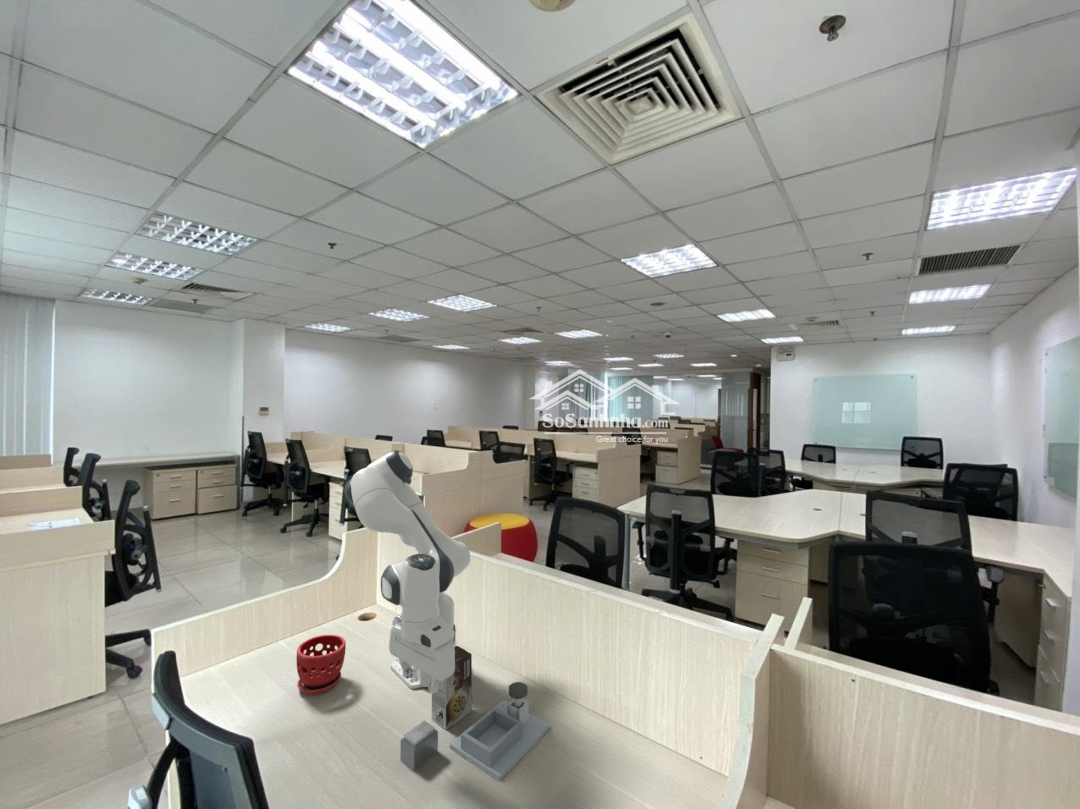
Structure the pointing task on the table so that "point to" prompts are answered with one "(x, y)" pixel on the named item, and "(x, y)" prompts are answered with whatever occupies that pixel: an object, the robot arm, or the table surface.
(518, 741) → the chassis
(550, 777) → the table surface
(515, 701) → the dark grey round knob
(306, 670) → the plant pot
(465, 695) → the coffee box
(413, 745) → the grey rectangular block
